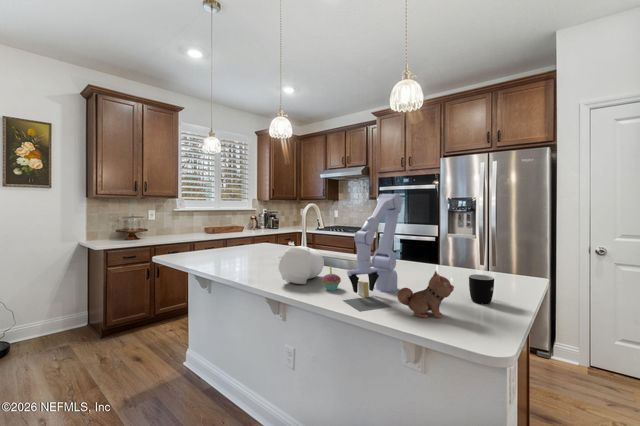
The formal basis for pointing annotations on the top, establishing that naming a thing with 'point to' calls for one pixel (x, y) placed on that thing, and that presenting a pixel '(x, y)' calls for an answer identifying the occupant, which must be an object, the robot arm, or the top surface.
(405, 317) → the top surface
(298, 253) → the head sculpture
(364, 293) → the card box
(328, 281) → the cupcake
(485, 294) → the mug
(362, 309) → the mat
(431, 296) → the figurine
